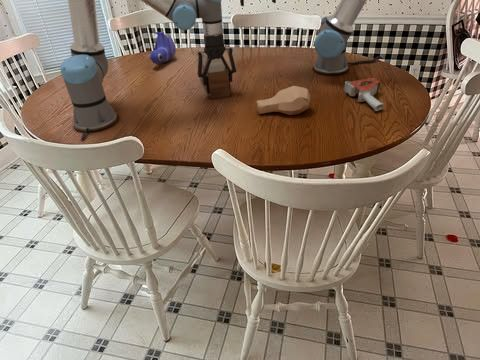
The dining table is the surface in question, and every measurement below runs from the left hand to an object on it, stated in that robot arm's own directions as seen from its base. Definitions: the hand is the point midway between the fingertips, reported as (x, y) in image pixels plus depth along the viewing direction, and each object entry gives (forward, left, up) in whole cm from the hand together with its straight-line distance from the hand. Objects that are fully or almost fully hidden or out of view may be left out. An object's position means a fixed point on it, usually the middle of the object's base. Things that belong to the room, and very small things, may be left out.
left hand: (218, 91), depth 148 cm
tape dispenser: (-11, -57, -2) cm, 58 cm away
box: (+9, +2, -2) cm, 9 cm away
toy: (+45, +32, -2) cm, 55 cm away
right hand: (+20, -18, +29) cm, 39 cm away
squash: (-19, -25, -2) cm, 32 cm away
